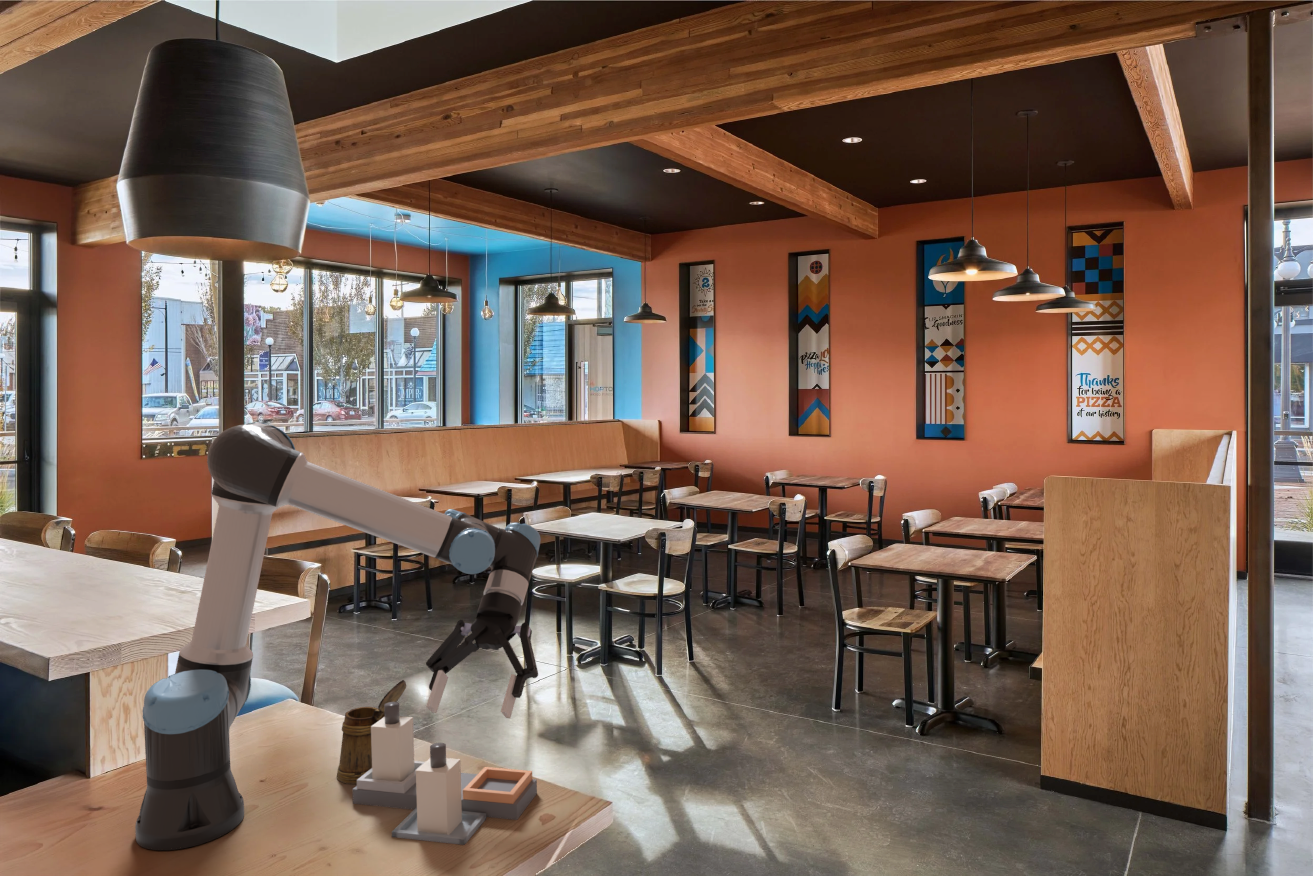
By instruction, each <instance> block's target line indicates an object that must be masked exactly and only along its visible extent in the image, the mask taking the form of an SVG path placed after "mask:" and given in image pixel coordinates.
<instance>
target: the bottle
mask: <svg viewBox="0 0 1313 876" xmlns="http://www.w3.org/2000/svg"><path fill="white" fill-rule="evenodd" d="M429 755H430V756H429V758H428V759H427V760H426V761H424V762H425V763H424V764H423V765H421V766H420V767H419V768H418V769H417V770H416V794H417V830H418V832H427V833H437V834H446V835H450V834H451V833H452V832H453V830H454V829H455V828H456V827H457V826H458V825H459V824H460V823H461V821H462V803H461V773H462V770H461V769H462V768H461V766H462V765H461V759H460V758H452V757H451V758H450V757H447V744H446V743H445V742H435V743H431V744H430V745H429Z"/></svg>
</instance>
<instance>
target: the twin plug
mask: <svg viewBox="0 0 1313 876" xmlns="http://www.w3.org/2000/svg"><path fill="white" fill-rule="evenodd" d="M384 712H385V717H383V718H382V719H381V720H379V721H378V722H376V723H375V724H374V725H372V726H371V747H372V779H376V780H387V781H398V782H402V781H404V780H405V779H406V778H407V777H408V776H409V775H410V774H411V773H413V772H414V771H415V770H414V761H415V744H414V741H415V740H414V737H415V736H414V734H415V733H414V716H413V717H412V716H404V715H403V716H402V715H400V702H398V701H397V702H389V703H386V704H385V705H384Z"/></svg>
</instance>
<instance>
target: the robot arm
mask: <svg viewBox="0 0 1313 876" xmlns="http://www.w3.org/2000/svg"><path fill="white" fill-rule="evenodd" d="M206 460H207V461H206V463H207V469H208V472H209V474H210V476H211V478H212V479H213V483H212V489H211V493H210V494H211V497H212V498H213V500H214V501H215V502H216V503H217V506H218V509H217V513H216V519H215V523H214V528H213V534H212V539H211V543H210V549H209V554H208V557H207V564H206V568H205V574H204V578H203V583H202V588H201V593H200V596H199V597H200V598H199V602H198V608H197V613H196V618H195V621H194V622H195V623H194V626H193V627H194V628H193V632H192V638H191V640H190V641H189V642H188V643H187V644H185V645H183V646H181V648H180V649H179V653H178V657H177V663H176V666H175V667H176V668H175V671H174V673H173V674H171V675H169V676H168V677H165V678H161V679H160V680H157V681H156V682H155V683H154V684H152V685H150V687H149V688H148V690H147V691H146V693H145V694H144V698H143V707H142V721H143V727H144V730H143V731H144V749H145V752H144V754H145V768H146V771H145V772H146V789H145V793H144V796H143V798H142V803H141V806H140V809H139V814H138V817H137V818H136V822H135V826H134V827H135V828H134V829H135V842H136V843H137V844H138V846H140V847H141V848H144V849H147V850H153V851H174V850H175V851H176V850H182V849H187V848H191V847H195V846H200V845H202V844H203V845H204V844H205V843H209V842H211V841H214V840H215V839H219V838H220V837H222V836H225V835H226V834H228V833H230V832H231V831H232V830H234V829H235V828H237V827H238V825H239V824H240V823H242V821H243V819H244V818H245V801H244V798H243V796H242V794H241V793H240V792H239V789H238V786H237V782H236V780H235V777H234V774H233V772H232V770H231V748H230V747H231V745H230V743H231V741H230V729H231V726H232V724H233V723H234V721H235V719H236V717H237V715H238V714H239V712H240V711H241V710H242V709H243V707H244V706H245V703H246V702H247V701H248V699H249V695H250V692H251V686H252V684H251V683H252V682H251V681H252V679H251V670H252V669H251V668H252V664H253V659H254V652H253V651H252V650H251V649H250V648H249V646H248V645H247V642H248V637H249V631H250V626H251V622H252V616H253V612H254V607H255V603H256V596H257V592H258V587H259V583H260V578H261V577H260V576H261V571H262V568H263V567H262V566H263V562H264V557H265V552H266V547H267V543H268V537H269V534H270V533H269V532H270V527H271V524H272V523H271V521H272V518H273V513H274V512H275V511H276V510H278V509H280V508H281V507H284V506H287V505H288V506H291V507H294V508H296V509H300V510H302V511H305V512H308V513H310V514H313V515H316V516H319V517H321V518H325V519H327V520H330V521H333V522H335V523H338V524H340V525H343V526H347V527H349V528H351V529H354V530H357V531H360V532H364V533H366V534H369V535H371V536H374V537H377V538H380V539H383V540H385V541H388V542H391V543H394V544H397V545H399V546H402V547H405V548H408V549H409V550H412V551H415V552H419V553H421V554H424V555H427V556H428V557H429V556H430V557H432V558H435V559H437V560H439V561H441V562H444V563H448V564H450V565H452V566H453V567H454V568H456V569H457V570H458V571H460V572H462V573H463V574H468V575H476V574H479V573H480V574H481V573H482V572H484V571H486V570H487V569H488V568H491V569H490V572H489V575H488V578H487V581H486V584H485V587H484V590H483V595H482V596H481V599H480V603H479V605H478V609H477V612H476V617H475V620H474V621H473V623H468V622H465V621H464V619H459V620H458V621H457V622H456V625H455V626H454V629H453V630H452V631H451V633H450V634H449V635H448V636H447V637H446V639H445V640H444V641H443V642H442V643H441V644H440V645H439V646H438V648H437V649H436V650H435V651H434V652H433V653H432V655H431V656H430V657H429V658H428V659H427V661H426V662H425V665H426V667H427V668H428V669H429V670H430V671H431V672H432V676H431V679H430V682H429V684H428V688H429V690H430V694H429V696H428V700H427V702H426V705H425V706H426V708H427V709H428V710H429V711H430V712H431V713H432V714H437V713H438V709H439V706H440V703H441V701H442V698H443V695H444V692H445V689H446V686H447V683H448V680H449V676H448V675H447V674H448V673H449V672H451V670H452V669H454V668H455V667H457V665H459V664H460V663H461V662H462V661H463V660H465V659H466V658H467V657H468V656H470V655H471V654H472V653H475V652H477V651H478V650H479V649H481V650H494V651H499V650H500V649H501V648H502V649H503V650H504V652H505V654H506V657H507V658H508V660H509V662H510V664H511V665H512V667H513V669H514V671H515V673H516V674H515V673H514V674H513V673H512V674H510V677H509V681H508V684H507V688H506V691H505V695H504V698H503V701H502V705H501V710H500V712H501V714H502V715H503V716H504V717H505V719H509V720H510V719H512V718H511V717H512V714H513V710H514V706H515V702H516V699H517V698H519V699H520V698H521V697H522V694H523V690H524V688H525V684H526V681H527V680H528V679H531V678H533V679H536V678H538V676H539V670H538V668H537V663H536V657H535V655H534V654H535V653H534V649H533V645H532V640H531V639H532V635H533V634H532V633H533V630H532V629H531V627H530V625H529V624H528V623H527V622H526V621H525V622H522V624H521V625H518V624H519V619H520V615H521V613H522V609H523V604H524V602H525V598H526V596H527V591H528V588H529V584H530V580H531V577H532V575H533V570H534V567H535V565H536V562H537V559H538V557H539V550H540V546H541V541H542V540H541V535H540V533H539V531H538V530H537V529H536V528H535V527H533V526H531V525H529V524H527V523H520V522H511V523H509V524H507V525H506V527H504V528H500V527H497V526H495V525H493V524H490V523H488V522H486V521H483V520H481V519H479V518H476V517H474V516H471V515H469V514H467V513H466V512H462V511H459V510H456V509H453V508H450V509H447V510H445V512H444V513H443V512H439V511H438V510H435V509H432V508H429V507H427V506H425V505H422V504H419V503H416V502H414V501H411V500H409V499H406V498H404V497H401V496H398V495H396V494H394V493H390V492H388V491H386V490H384V489H380V488H378V487H375V486H373V485H370V484H367V483H364V482H362V481H359V480H357V479H354V478H352V477H349V476H346V475H344V474H341V473H338V472H336V471H333V470H330V469H328V468H326V467H322V466H320V465H317V464H315V463H313V462H310V461H308V460H307V458H306V455H305V453H304V452H302V451H300V450H297V449H296V447H295V445H294V442H293V440H292V439H291V438H290V437H289V435H288V434H287V433H286V432H285V431H284V430H282V429H280V428H279V427H277V426H275V425H273V424H272V425H271V424H270V423H269V424H268V423H266V422H249V423H245V424H239V425H234V426H232V427H230V428H229V427H228V428H227V429H225V430H223V431H222V432H220V433H219V434H218V436H216V437H215V438H214V440H212V442H211V444H210V445H209V449H208V452H207V459H206ZM469 633H470V634H469ZM516 635H517V636H518V638H520V643H521V648H522V651H523V652H522V653H523V656H524V662H525V665H526V666H525V667H523V665H522V664H521V662H520V660H519V658H518V656H517V654H516V652H515V651H514V648H513V646H512V644H511V643H510V641H511V640H512V639H513V638H514V637H515V636H516ZM463 640H464V641H463ZM474 641H475V642H474ZM473 642H474V643H473Z"/></svg>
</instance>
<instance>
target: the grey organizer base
mask: <svg viewBox="0 0 1313 876" xmlns="http://www.w3.org/2000/svg"><path fill="white" fill-rule="evenodd" d="M425 762H426V761H420V760H414V770H415V771H414V772H413V773H411V774H410V775H409V776H408V777H407V778H406V779H405V780H404V781H402V782H398V781H387V780H376V779H372V768H371V769H370V770H369V771H367V772H366V773H365V774H364V775H362V776H361V777H360V778H359V779H357V784H356V785H355V787H353V788H352V791H351V792H352V804H356V805H362V806H363V805H364V806H374V807H385V808H393V809H403V810H404V809H405V810H412V811H413V810H414V809H415V808H416V807H417V794H416V770H417V769H418V768H419V767H420V766H421V765H423V764H424V763H425ZM537 781H538V780H537V779H536V778H533V770H525V769H516V768H515V769H513V768H503V767H502V768H501V767H491V766H483V768H482V769H481V770H480V771H479V772H478V773H467V772H461V803H462V811H467V812H477V813H486V818H493V819H502V820H503V819H505V820H515V821H518V820H519V818H520V816H521V815H522V814H523V813H524V811H525V810H526V809H527V808H528V806H529V805H530V804H531V803H532V801H533V799H534V798H535V797H536V796H537V794H538V782H537Z"/></svg>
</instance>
